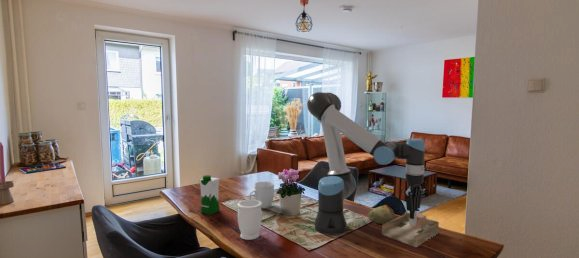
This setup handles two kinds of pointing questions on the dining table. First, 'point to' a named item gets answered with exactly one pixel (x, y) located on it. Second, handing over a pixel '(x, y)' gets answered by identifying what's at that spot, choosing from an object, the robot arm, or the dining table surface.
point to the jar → (249, 218)
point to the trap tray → (409, 230)
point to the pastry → (381, 214)
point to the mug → (264, 193)
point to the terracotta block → (420, 221)
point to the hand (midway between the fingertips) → (412, 224)
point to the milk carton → (209, 195)
